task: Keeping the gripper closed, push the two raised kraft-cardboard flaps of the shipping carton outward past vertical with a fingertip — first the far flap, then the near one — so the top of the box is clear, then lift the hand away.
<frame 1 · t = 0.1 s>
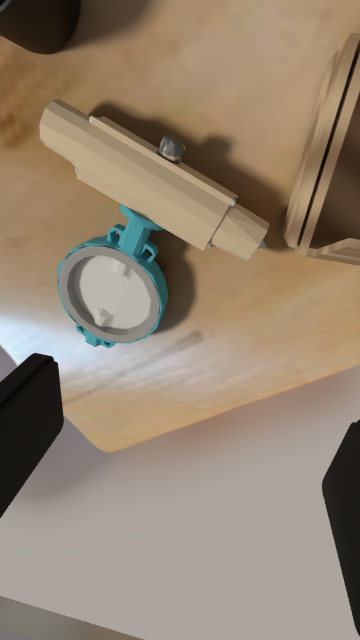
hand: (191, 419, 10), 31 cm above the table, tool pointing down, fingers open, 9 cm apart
mug: (31, 6, 31), on the table
butterfly valve: (132, 255, 41), on the table
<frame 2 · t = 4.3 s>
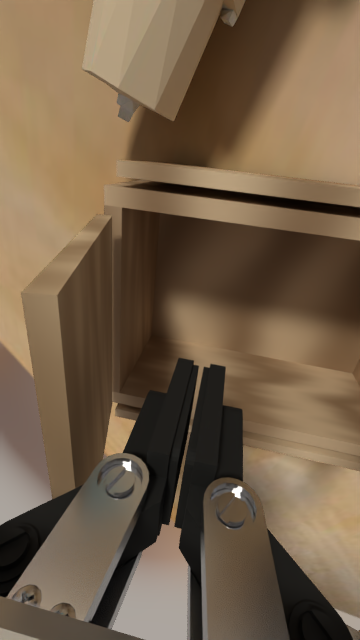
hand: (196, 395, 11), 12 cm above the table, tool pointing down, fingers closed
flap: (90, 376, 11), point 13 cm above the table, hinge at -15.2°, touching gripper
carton: (263, 287, 21), on the table
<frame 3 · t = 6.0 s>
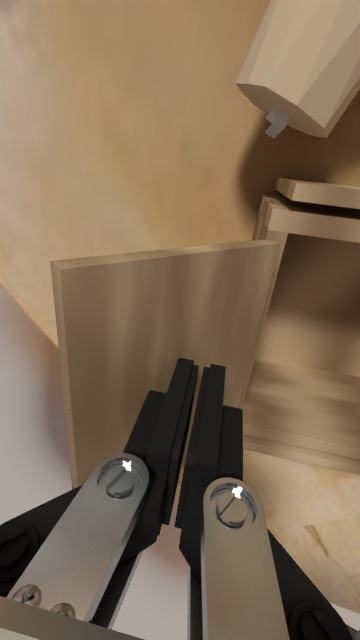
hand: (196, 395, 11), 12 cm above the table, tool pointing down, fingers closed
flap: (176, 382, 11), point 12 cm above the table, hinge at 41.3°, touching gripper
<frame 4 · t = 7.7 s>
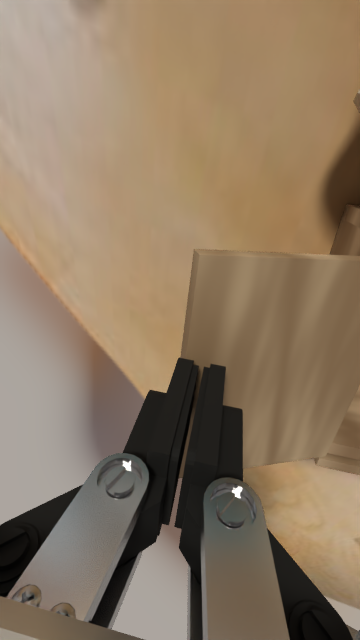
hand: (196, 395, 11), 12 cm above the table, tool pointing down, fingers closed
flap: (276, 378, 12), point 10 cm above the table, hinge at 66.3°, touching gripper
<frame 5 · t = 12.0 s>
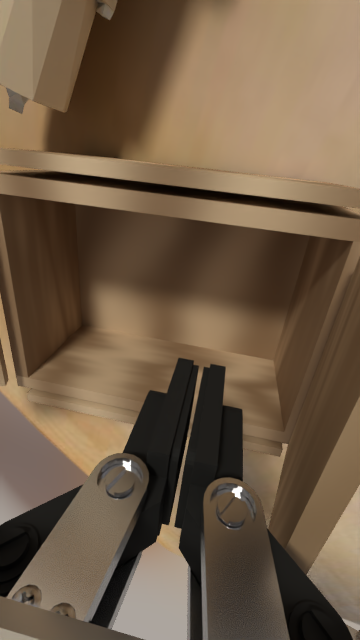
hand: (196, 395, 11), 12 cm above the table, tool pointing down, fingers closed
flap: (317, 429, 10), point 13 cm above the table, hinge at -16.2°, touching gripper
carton: (182, 276, 22), on the table
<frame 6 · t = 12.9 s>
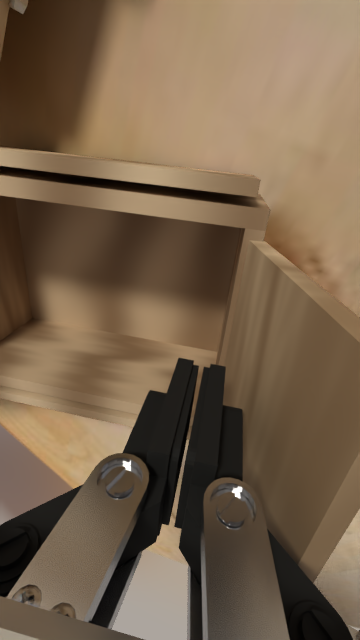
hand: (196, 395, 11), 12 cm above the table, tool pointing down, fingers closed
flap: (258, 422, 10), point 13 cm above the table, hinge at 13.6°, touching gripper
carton: (125, 268, 22), on the table
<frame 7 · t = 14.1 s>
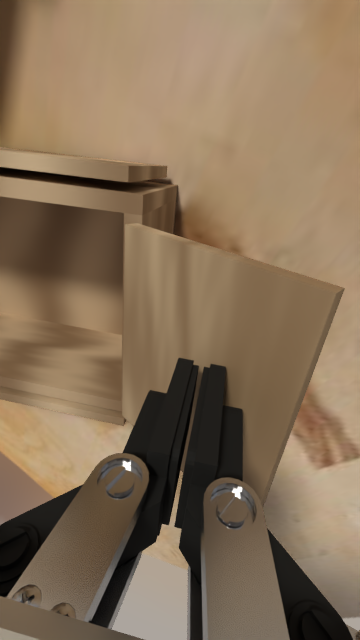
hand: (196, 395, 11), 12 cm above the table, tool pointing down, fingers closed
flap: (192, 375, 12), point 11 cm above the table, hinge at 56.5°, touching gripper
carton: (59, 259, 23), on the table
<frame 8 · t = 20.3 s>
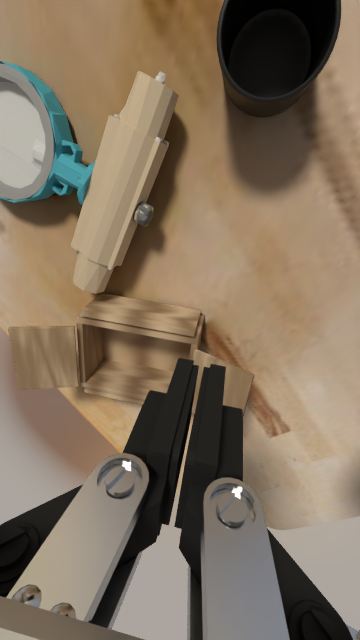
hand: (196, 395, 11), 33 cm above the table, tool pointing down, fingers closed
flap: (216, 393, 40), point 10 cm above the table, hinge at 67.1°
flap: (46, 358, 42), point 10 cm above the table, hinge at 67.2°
mug: (261, 52, 32), on the table
butterfly valve: (61, 158, 40), on the table
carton: (148, 338, 50), on the table
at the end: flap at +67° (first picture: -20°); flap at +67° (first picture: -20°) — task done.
